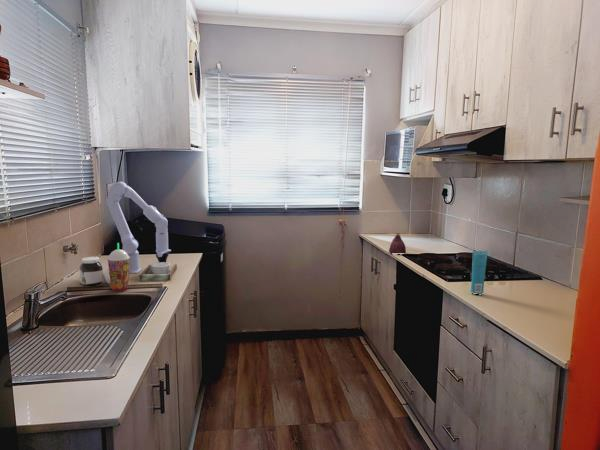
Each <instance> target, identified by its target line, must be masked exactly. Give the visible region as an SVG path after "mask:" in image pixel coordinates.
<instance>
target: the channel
mask: <svg viewBox="0 0 600 450" xmlns="http://www.w3.org/2000/svg"><path fill="white" fill-rule="evenodd" d="M177 269H178V264H177V263H175V264H173V266H172V267H171V269H169V273H167V274H153V273H151V274H149V273H150V272H152V268H151V264H148V265H147V267H145V268H144V270H143V271H142V272H141V273H140V274H139V281H140V282H143V281H145V282H146V281H147V282H148V281H150V282H151V281H171V280H172V278H173V276H174V274H175V273H176V272H177Z"/></svg>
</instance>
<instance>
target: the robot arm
mask: <svg viewBox="0 0 600 450" xmlns="http://www.w3.org/2000/svg"><path fill="white" fill-rule="evenodd" d="M122 197H124V198H129V199H131V200H132V201H133V202H134V203H135V204H136V205H137V206H138V207H140V208H141V209H142V211H143V212H142V214H143V215H144V216H145V217H146V218H147V219H148V220H149V221H150V222H151V223H154V227H155V228H156V229H155V231H156V232H155V243H156V244H155V247H156V249H155V252H156V254H155V257H156V258H157V261H158V262H167V261H168V257H169V254H170V253H171V252H172V249H169V232H168V231H169V230H168V229H169V228H168V226H169V224H168V222H169V221H168V219H167V217H166V216H164V214H162V213H160V211H158V209H157V207H156V206H154V205H148V203H147V202H146V201H144V199H143V198H142V197H141V196H140V195H139V194H138V193H137V191H135V190H134V189H133V188H132V187H131V186H129V185H127V183H126V182H124V181H117V182H114V183H113V184H111V186H110V187H109V188H108V193H107V198H106V205H107V207H108V209H109V212H110V214H111V217H112V218H113V222H114V224H115V226H116V228H117V231H118V233H119V236H120V239H121V243H122V249H121V250H124V251H125V252H126V253H127V254H128V256H129V257H130V258H129V259H130V261H129V274H138V273H139V272H140V271H141V270H142V267H140V254H139V253H140V252H139V251H138V250H137V249H138V248H139V242H138V240H137V239H135V237H134V235H133V234H132V232H131V230H130V228H129V225H128V223H127V220H126V218H125V214H124V213H123V211H122V208H121V205H120V203H119V202H120V200H121V199H122Z"/></svg>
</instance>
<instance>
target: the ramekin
mask: <svg viewBox="0 0 600 450" xmlns="http://www.w3.org/2000/svg"><path fill="white" fill-rule="evenodd" d="M150 265H151V268H152V270H151V274H168V273H169V272H170V268H171V267H170V265H171V263H170V262H167V261H166V262H159V261H158V262H154V263H151V264H150Z"/></svg>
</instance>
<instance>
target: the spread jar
mask: <svg viewBox="0 0 600 450" xmlns="http://www.w3.org/2000/svg"><path fill="white" fill-rule="evenodd" d="M79 279H80V283H81V285H82V286H83V287H85V286H93V287H98V286H100V285H101V284H103V282H104V279H105V281H106V283H107V284H108V285H109V284H110V285H111V283H110V274H109V270H107V268H103V265H102V263H101V262H100V257H99V256H88V257H83V258H81V264H80V265H79ZM97 285H98V286H97Z"/></svg>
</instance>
